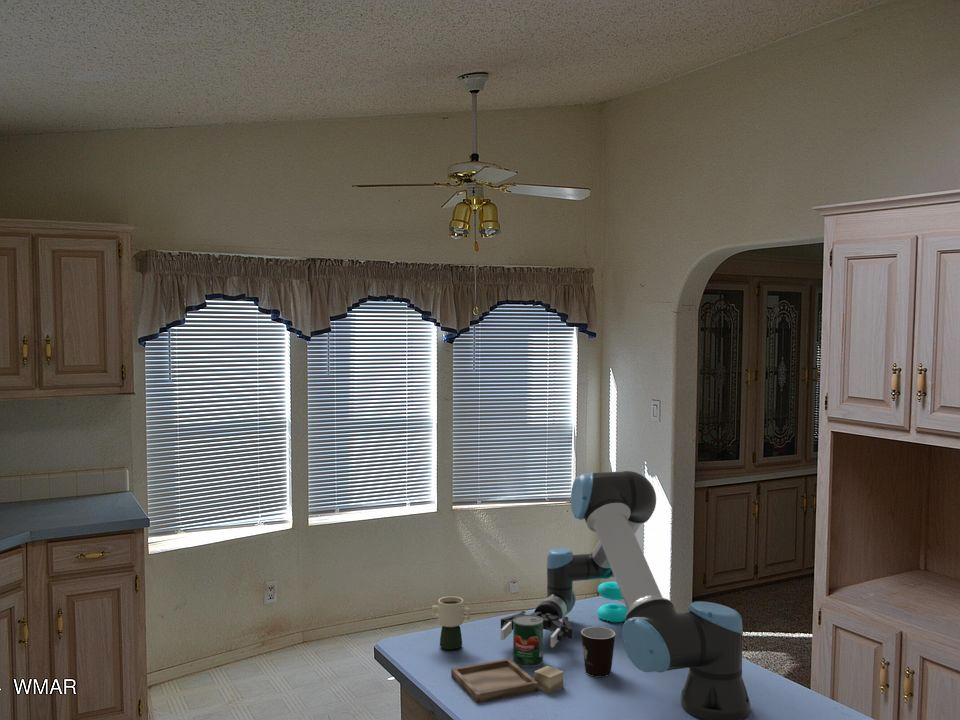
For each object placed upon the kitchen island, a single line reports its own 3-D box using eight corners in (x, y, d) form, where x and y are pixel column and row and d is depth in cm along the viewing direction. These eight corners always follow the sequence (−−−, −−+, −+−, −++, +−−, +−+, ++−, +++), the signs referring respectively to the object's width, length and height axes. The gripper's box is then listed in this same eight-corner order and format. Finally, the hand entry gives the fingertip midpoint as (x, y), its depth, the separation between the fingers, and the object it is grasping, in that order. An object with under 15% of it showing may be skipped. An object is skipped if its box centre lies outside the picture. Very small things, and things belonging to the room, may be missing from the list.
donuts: (591, 585, 242) (610, 578, 249) (591, 618, 242) (609, 610, 250) (619, 592, 235) (637, 585, 242) (618, 626, 235) (637, 617, 243)
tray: (538, 690, 192) (538, 682, 191) (476, 702, 185) (476, 694, 185) (509, 666, 206) (509, 658, 206) (451, 676, 200) (451, 668, 200)
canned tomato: (516, 668, 205) (516, 625, 205) (510, 656, 213) (510, 615, 213) (546, 666, 206) (546, 623, 206) (539, 654, 214) (539, 613, 214)
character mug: (473, 644, 221) (473, 597, 221) (467, 653, 214) (467, 605, 214) (435, 641, 224) (435, 594, 223) (428, 650, 217) (428, 602, 217)
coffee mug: (614, 680, 198) (614, 640, 197) (579, 677, 199) (579, 637, 199) (616, 662, 209) (616, 624, 209) (583, 659, 211) (583, 621, 210)
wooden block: (563, 687, 194) (563, 671, 194) (549, 694, 190) (549, 677, 190) (547, 681, 197) (547, 665, 197) (534, 687, 194) (534, 671, 194)
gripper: (509, 594, 233) (482, 618, 213) (593, 605, 223) (573, 630, 204) (509, 620, 233) (482, 646, 213) (593, 631, 224) (573, 659, 204)
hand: (526, 638), depth 208 cm, fingers open, 13 cm apart
